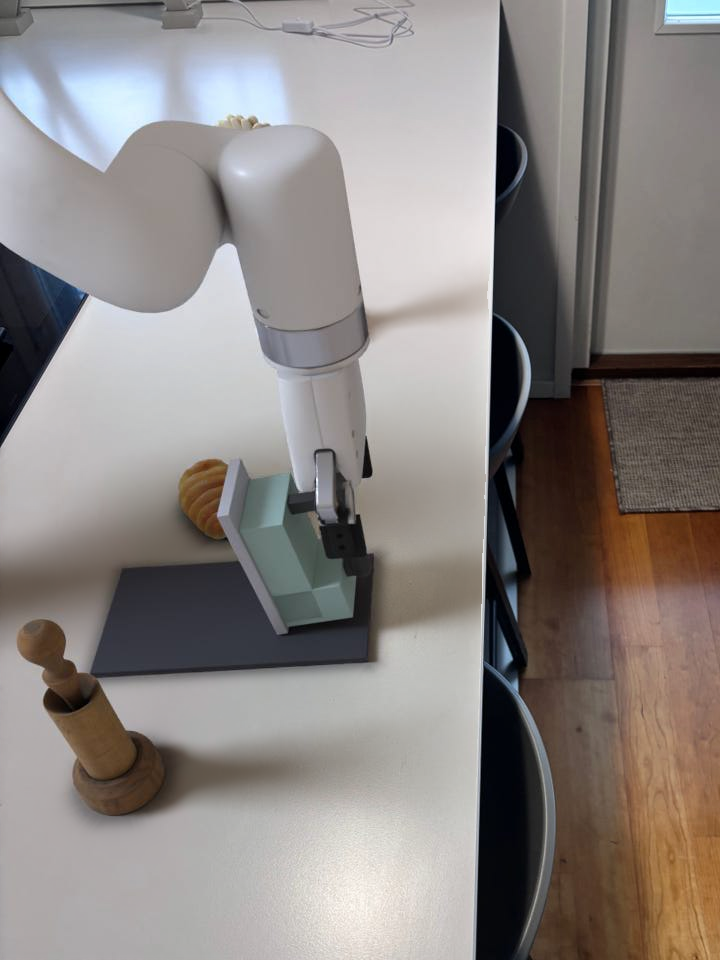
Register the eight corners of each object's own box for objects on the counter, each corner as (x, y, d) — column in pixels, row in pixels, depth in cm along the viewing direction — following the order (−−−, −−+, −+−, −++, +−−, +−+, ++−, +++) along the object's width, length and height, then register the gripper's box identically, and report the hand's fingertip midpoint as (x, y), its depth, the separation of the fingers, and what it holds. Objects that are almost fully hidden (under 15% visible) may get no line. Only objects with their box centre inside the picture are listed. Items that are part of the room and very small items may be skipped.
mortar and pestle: (64, 791, 77) (-40, 639, 64) (125, 733, 81) (39, 578, 67) (121, 830, 75) (26, 680, 61) (182, 769, 78) (105, 615, 65)
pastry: (266, 529, 96) (257, 500, 94) (199, 553, 95) (188, 523, 92) (239, 476, 102) (230, 446, 99) (176, 497, 101) (165, 468, 98)
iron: (216, 516, 76) (335, 497, 74) (229, 459, 80) (341, 440, 79) (277, 635, 86) (382, 619, 85) (285, 578, 91) (385, 563, 89)
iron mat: (91, 677, 85) (89, 673, 85) (124, 572, 94) (122, 567, 93) (367, 662, 84) (366, 657, 84) (374, 557, 93) (373, 552, 93)
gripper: (272, 267, 73) (314, 452, 86) (241, 403, 62) (294, 592, 75) (372, 261, 73) (399, 446, 86) (359, 396, 62) (393, 587, 75)
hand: (350, 514), depth 80 cm, fingers open, 9 cm apart
